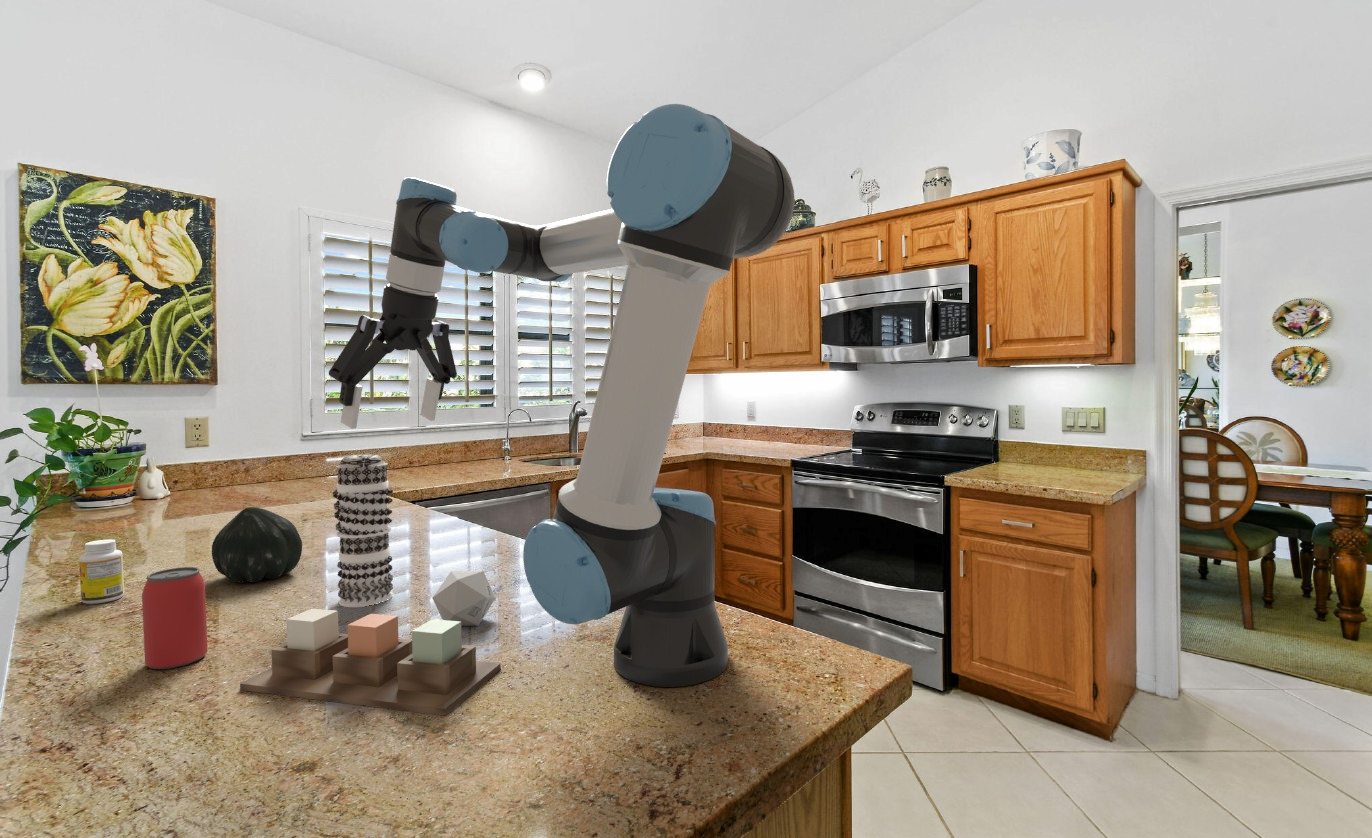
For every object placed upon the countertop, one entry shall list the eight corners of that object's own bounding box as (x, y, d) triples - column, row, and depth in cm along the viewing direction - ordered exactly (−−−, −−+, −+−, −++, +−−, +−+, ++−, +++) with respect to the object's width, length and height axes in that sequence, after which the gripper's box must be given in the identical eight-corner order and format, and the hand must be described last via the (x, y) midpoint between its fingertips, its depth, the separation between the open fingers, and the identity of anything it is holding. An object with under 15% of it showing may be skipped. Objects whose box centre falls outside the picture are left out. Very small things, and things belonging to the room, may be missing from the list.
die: (459, 641, 93) (498, 583, 95) (412, 610, 94) (452, 553, 96) (476, 640, 100) (512, 587, 103) (433, 611, 102) (469, 559, 104)
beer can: (138, 675, 80) (134, 582, 80) (153, 656, 86) (149, 569, 86) (202, 664, 83) (198, 575, 83) (212, 647, 89) (209, 563, 89)
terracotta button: (398, 646, 80) (397, 615, 80) (376, 659, 77) (375, 627, 76) (371, 644, 81) (370, 613, 81) (348, 656, 77) (347, 624, 77)
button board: (500, 669, 82) (500, 638, 82) (445, 715, 70) (444, 680, 70) (318, 650, 88) (317, 621, 88) (240, 689, 76) (238, 657, 76)
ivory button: (338, 640, 82) (337, 610, 82) (314, 653, 79) (313, 621, 78) (313, 638, 83) (312, 608, 83) (287, 650, 79) (286, 619, 79)
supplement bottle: (90, 597, 111) (87, 539, 111) (130, 593, 114) (127, 536, 113) (74, 607, 106) (71, 547, 106) (116, 602, 109) (113, 543, 108)
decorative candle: (366, 610, 104) (361, 459, 103) (323, 605, 107) (318, 457, 106) (407, 593, 112) (403, 454, 111) (366, 588, 115) (362, 452, 114)
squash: (296, 534, 135) (241, 489, 126) (330, 547, 127) (274, 499, 118) (240, 590, 127) (177, 546, 119) (272, 608, 119) (207, 561, 110)
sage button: (461, 653, 78) (461, 621, 78) (442, 666, 74) (441, 633, 74) (433, 650, 79) (432, 619, 79) (412, 663, 75) (411, 630, 75)
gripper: (463, 289, 106) (441, 407, 111) (313, 272, 84) (294, 419, 90) (494, 301, 103) (469, 422, 108) (346, 287, 81) (324, 439, 86)
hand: (390, 421), depth 99 cm, fingers open, 13 cm apart
